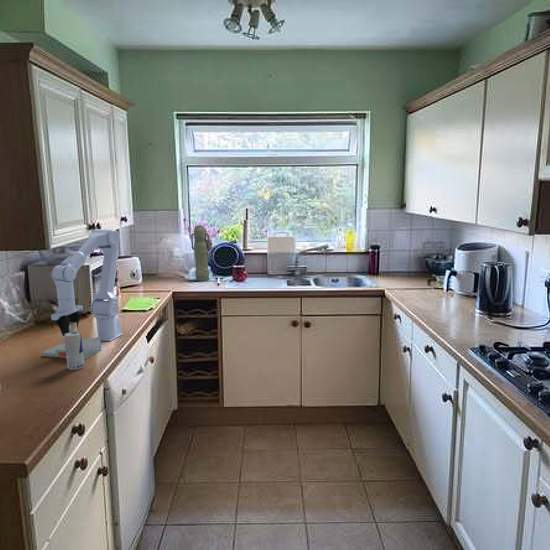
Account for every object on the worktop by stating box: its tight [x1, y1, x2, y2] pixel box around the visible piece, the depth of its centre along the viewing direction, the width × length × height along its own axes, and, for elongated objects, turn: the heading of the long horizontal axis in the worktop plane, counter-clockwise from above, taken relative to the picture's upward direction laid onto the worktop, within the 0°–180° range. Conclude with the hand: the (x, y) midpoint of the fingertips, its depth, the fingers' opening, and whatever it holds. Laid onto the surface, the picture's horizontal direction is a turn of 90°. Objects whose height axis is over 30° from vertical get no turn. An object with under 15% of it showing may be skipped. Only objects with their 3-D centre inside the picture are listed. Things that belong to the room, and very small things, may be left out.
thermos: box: [190, 225, 211, 282], centre depth 311 cm, size 9×12×35 cm
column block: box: [59, 322, 78, 342], centre depth 178 cm, size 4×4×6 cm
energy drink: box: [63, 330, 85, 371], centre depth 164 cm, size 5×5×12 cm
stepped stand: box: [41, 337, 102, 361], centre depth 179 cm, size 10×18×4 cm, turn 74°
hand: (70, 334), depth 178 cm, fingers closed on column block, 4 cm apart
